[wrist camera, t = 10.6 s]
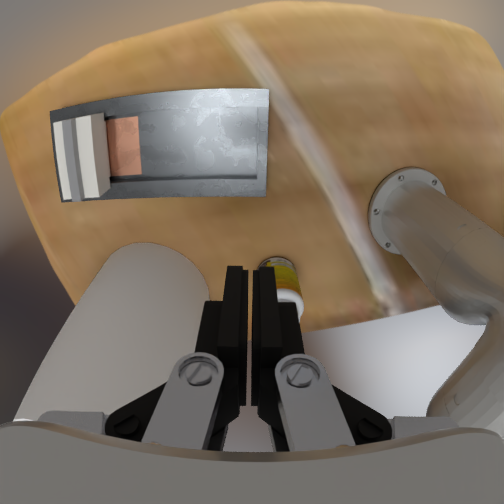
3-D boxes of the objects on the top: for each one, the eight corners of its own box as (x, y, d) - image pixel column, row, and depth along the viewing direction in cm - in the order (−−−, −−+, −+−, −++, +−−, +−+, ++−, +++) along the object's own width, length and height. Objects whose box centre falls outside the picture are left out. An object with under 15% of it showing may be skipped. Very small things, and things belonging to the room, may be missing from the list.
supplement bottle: (262, 251, 41) (266, 298, 32) (301, 260, 42) (315, 308, 33) (250, 284, 43) (251, 335, 34) (287, 292, 44) (296, 343, 35)
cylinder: (127, 219, 38) (10, 391, 14) (233, 285, 43) (223, 483, 19) (87, 299, 45) (13, 443, 20) (175, 349, 50) (146, 503, 25)
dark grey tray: (267, 89, 31) (269, 89, 28) (264, 188, 37) (265, 196, 34) (62, 109, 30) (49, 111, 28) (72, 194, 36) (61, 202, 33)
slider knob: (109, 111, 29) (86, 116, 24) (115, 184, 34) (95, 200, 29) (74, 117, 29) (48, 124, 24) (81, 186, 34) (59, 202, 29)
